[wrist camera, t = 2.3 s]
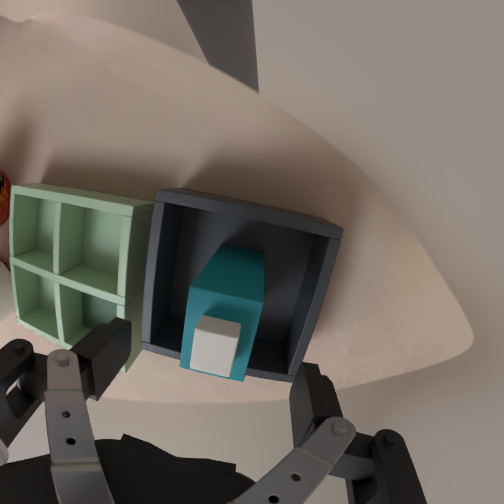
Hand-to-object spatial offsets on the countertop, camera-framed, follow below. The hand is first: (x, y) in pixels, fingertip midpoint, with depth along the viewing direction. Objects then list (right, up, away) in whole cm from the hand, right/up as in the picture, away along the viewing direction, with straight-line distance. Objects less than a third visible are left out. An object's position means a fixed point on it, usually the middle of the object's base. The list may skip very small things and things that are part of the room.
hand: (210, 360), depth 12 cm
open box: (+1, +3, +13) cm, 13 cm away
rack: (-16, +3, +13) cm, 21 cm away
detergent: (+1, +3, +12) cm, 12 cm away
